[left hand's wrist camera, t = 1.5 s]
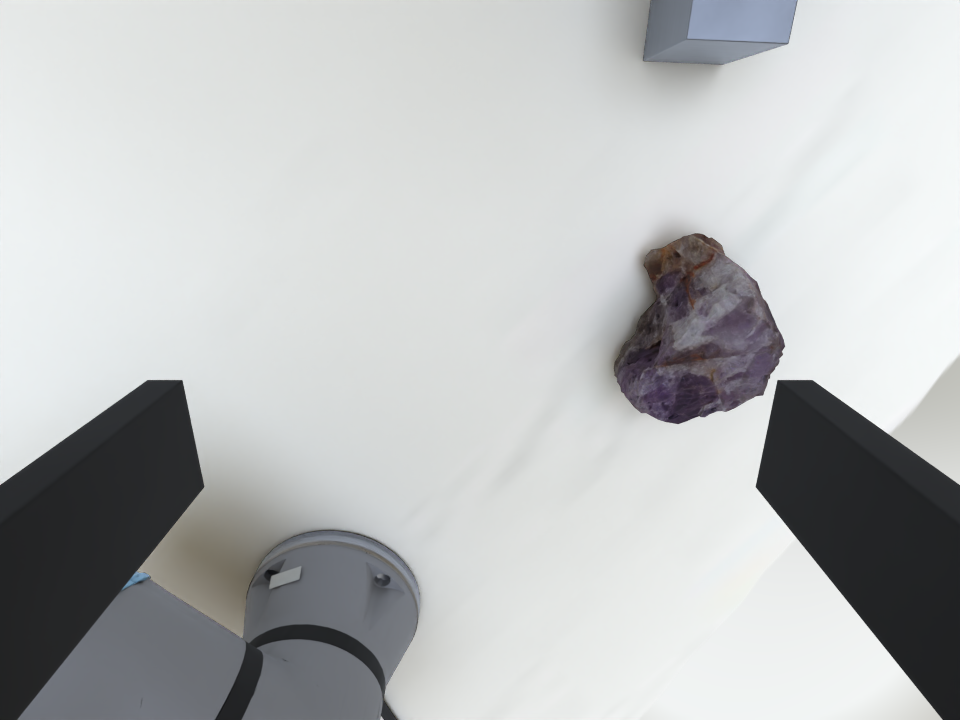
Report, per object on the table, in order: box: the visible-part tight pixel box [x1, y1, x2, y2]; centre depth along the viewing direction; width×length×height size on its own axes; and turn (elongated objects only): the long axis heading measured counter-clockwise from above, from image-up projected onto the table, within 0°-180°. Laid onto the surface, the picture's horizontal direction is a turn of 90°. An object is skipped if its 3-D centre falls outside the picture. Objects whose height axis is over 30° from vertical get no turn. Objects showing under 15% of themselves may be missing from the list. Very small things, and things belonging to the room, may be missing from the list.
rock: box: [614, 234, 785, 424], centre depth 38 cm, size 12×9×10 cm
